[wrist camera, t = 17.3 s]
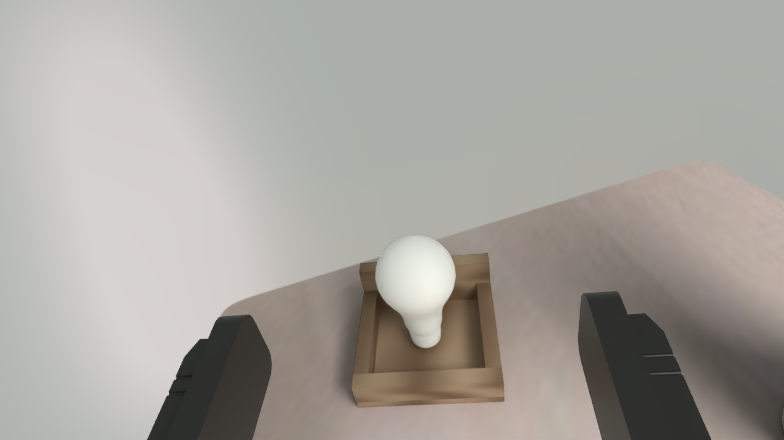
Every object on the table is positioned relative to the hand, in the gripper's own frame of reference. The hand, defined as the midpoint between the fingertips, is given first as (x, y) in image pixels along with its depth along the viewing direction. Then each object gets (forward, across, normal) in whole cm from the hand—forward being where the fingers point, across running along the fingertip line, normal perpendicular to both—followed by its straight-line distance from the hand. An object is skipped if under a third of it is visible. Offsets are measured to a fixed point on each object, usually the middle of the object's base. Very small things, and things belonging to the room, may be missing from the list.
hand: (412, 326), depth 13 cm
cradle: (+20, +3, +26) cm, 33 cm away
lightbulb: (+20, +3, +26) cm, 33 cm away
